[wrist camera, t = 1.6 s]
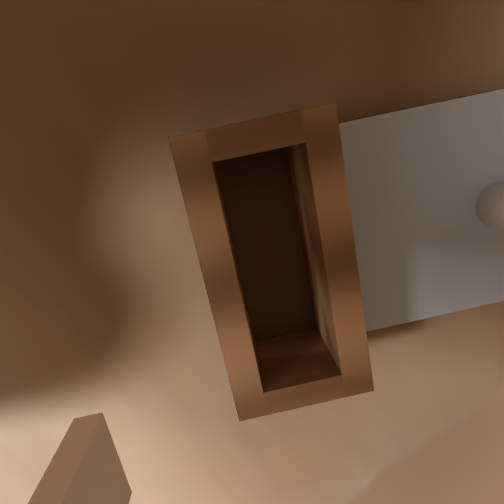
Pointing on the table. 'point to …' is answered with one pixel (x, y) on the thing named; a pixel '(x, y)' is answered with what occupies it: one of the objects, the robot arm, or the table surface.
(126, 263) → the table surface
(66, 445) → the robot arm
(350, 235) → the hollow block
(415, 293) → the post board
